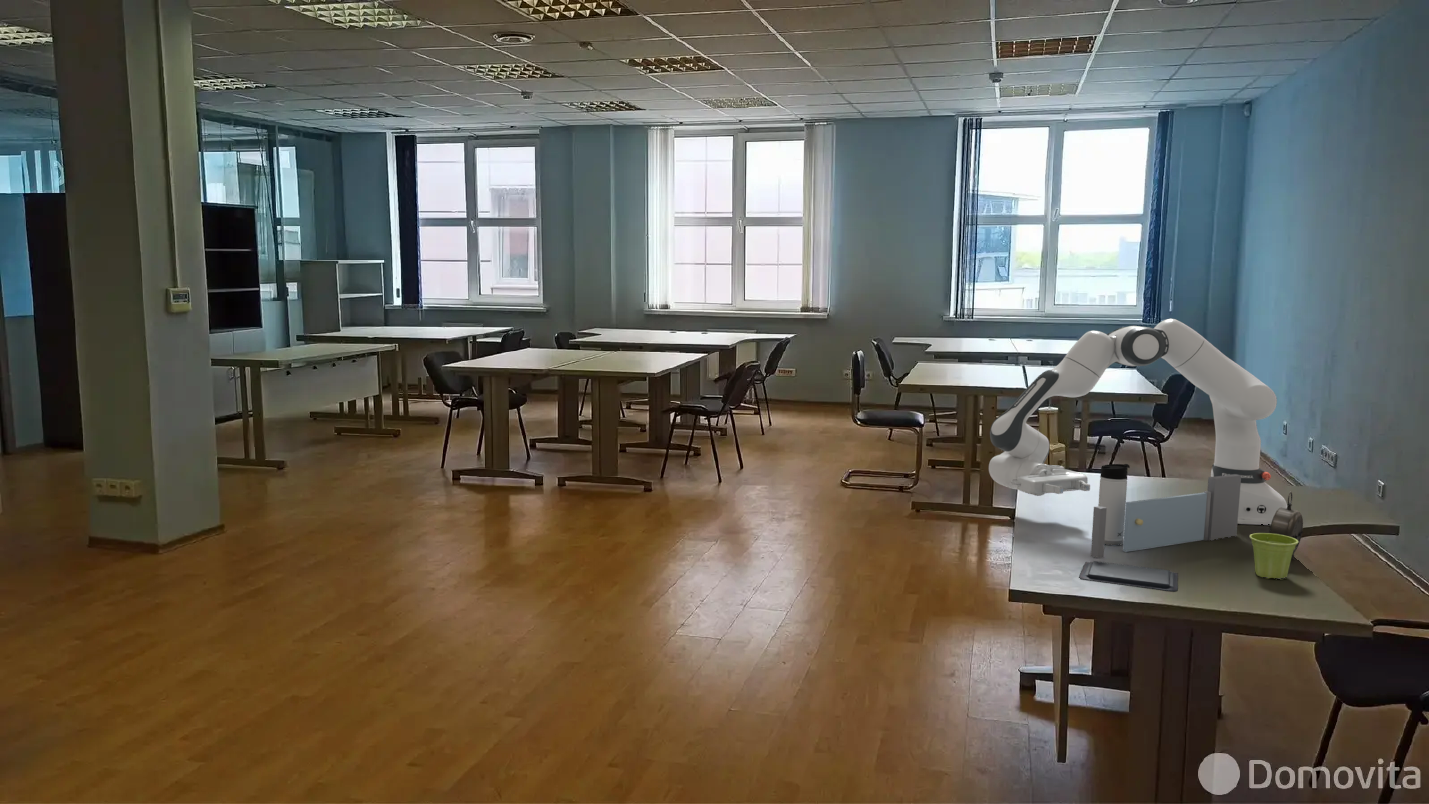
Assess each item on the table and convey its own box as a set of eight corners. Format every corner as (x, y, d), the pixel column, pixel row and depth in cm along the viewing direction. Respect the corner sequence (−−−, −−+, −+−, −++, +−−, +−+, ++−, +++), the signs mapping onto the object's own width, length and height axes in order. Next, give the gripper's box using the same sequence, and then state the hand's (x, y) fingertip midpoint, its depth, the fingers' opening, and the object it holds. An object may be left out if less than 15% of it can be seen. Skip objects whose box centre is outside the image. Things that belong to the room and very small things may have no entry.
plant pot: (1275, 584, 213) (1278, 545, 211) (1237, 572, 221) (1240, 535, 220) (1304, 579, 216) (1308, 541, 215) (1265, 567, 225) (1269, 531, 224)
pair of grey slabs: (1230, 534, 254) (1234, 474, 252) (1237, 536, 252) (1242, 475, 250) (1090, 556, 233) (1094, 490, 231) (1097, 558, 231) (1101, 491, 229)
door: (1203, 538, 249) (1206, 491, 248) (1212, 541, 247) (1215, 493, 246) (1121, 551, 237) (1125, 501, 235) (1130, 553, 235) (1133, 503, 233)
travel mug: (1126, 546, 241) (1132, 467, 239) (1098, 544, 243) (1103, 465, 240) (1121, 540, 248) (1126, 462, 245) (1094, 538, 249) (1099, 461, 246)
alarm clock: (1279, 551, 238) (1284, 486, 236) (1304, 556, 235) (1310, 490, 233) (1264, 560, 231) (1270, 493, 229) (1290, 565, 227) (1296, 497, 225)
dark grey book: (1077, 573, 215) (1085, 556, 228) (1076, 581, 215) (1085, 564, 229) (1177, 587, 206) (1180, 568, 219) (1177, 596, 206) (1179, 576, 219)
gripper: (1007, 470, 262) (1045, 480, 250) (1064, 465, 271) (1103, 474, 259) (1006, 493, 263) (1043, 504, 251) (1063, 487, 272) (1102, 498, 259)
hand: (1074, 489), depth 255 cm, fingers open, 8 cm apart
